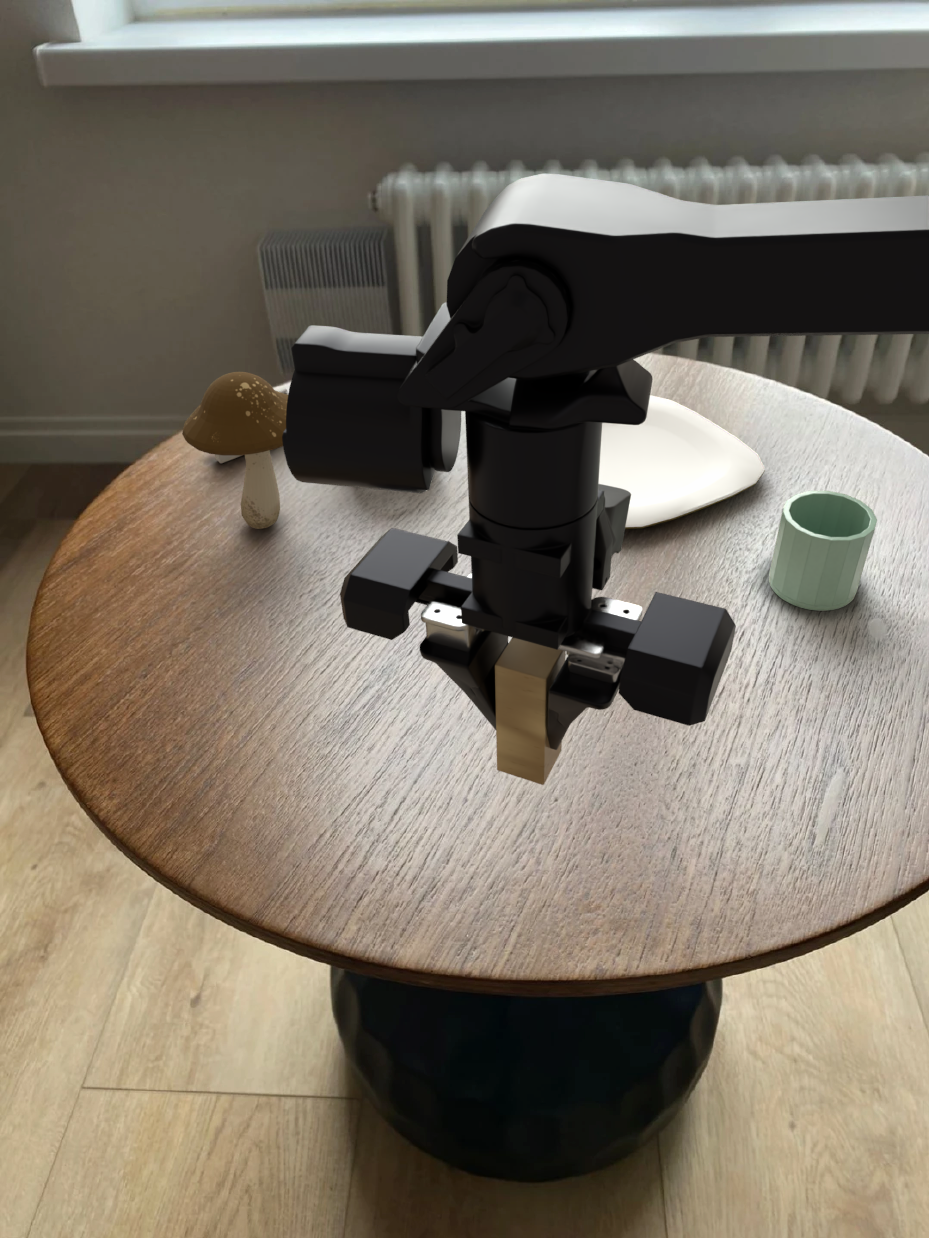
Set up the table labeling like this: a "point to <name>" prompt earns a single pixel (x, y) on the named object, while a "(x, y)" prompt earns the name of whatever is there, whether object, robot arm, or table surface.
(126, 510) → the table surface
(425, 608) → the robot arm
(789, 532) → the cup
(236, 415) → the mushroom
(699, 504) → the plate
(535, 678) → the stick
